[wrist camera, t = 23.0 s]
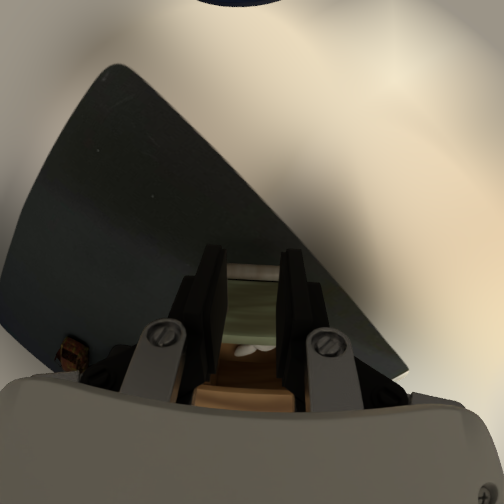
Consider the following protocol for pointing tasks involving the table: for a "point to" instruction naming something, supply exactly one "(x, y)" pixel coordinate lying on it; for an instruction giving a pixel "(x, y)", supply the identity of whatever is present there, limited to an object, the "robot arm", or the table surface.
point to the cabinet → (244, 399)
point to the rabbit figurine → (251, 349)
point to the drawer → (249, 329)
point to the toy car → (73, 355)
